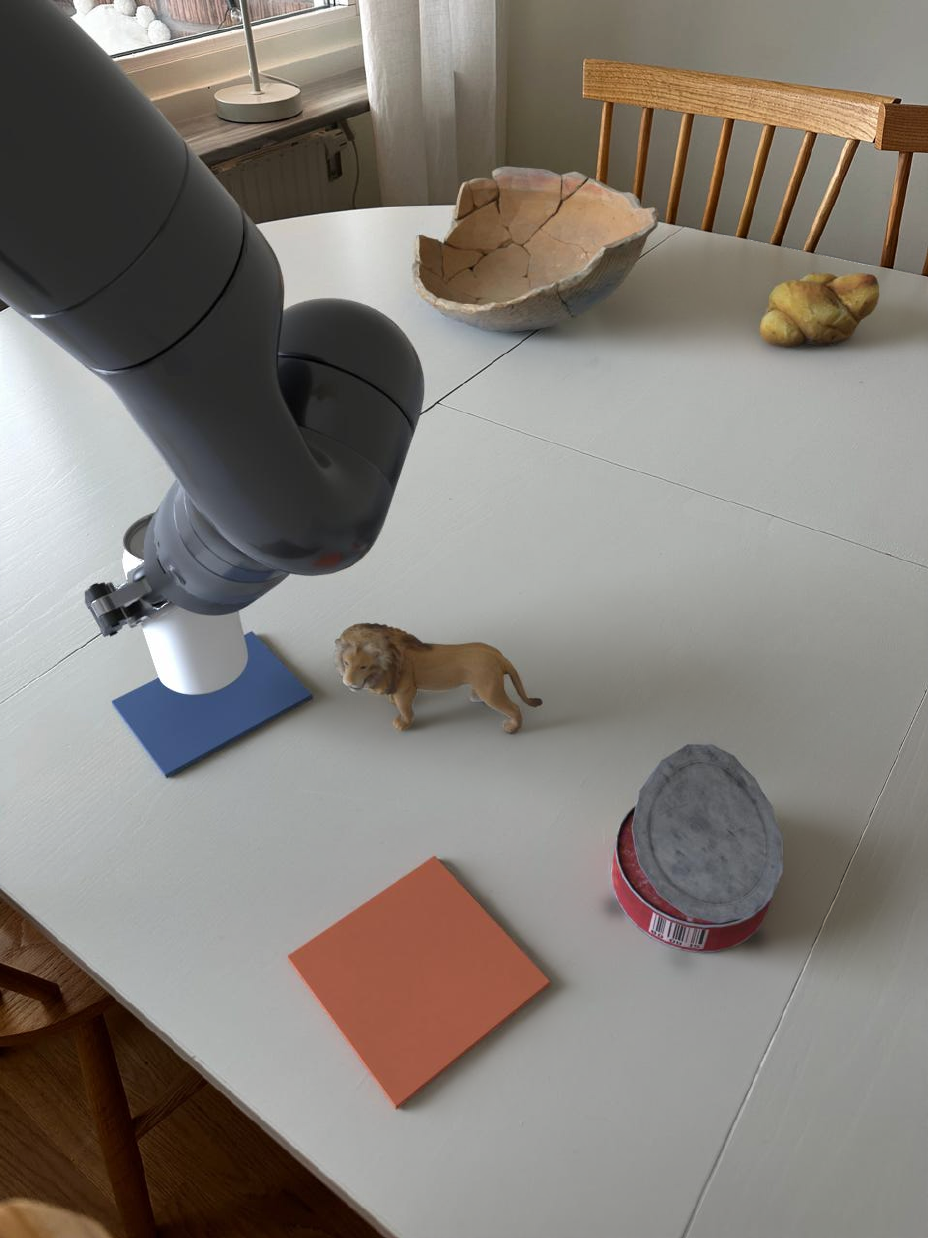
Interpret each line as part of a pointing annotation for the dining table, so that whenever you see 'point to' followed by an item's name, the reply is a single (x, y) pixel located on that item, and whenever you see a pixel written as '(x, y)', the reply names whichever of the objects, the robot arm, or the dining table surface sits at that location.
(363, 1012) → the terracotta mat
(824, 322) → the bread roll
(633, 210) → the ceramic bowl
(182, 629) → the can
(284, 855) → the dining table surface
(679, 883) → the canned food
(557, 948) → the dining table surface
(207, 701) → the blue mat
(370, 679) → the lion figurine
